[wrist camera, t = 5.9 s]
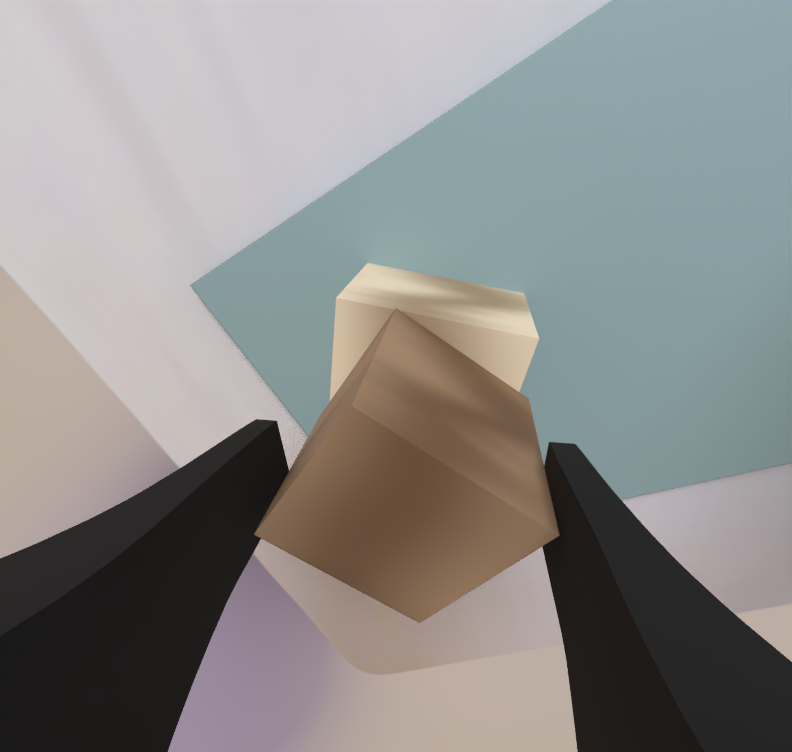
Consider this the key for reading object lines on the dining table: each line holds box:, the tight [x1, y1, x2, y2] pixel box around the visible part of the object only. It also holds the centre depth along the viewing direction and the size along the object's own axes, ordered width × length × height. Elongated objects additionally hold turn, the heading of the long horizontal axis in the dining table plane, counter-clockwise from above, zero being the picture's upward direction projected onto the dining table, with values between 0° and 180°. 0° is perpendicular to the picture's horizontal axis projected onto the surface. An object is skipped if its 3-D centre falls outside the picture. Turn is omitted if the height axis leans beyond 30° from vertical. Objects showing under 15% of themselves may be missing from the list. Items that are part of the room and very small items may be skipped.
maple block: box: [330, 263, 539, 401], centre depth 15 cm, size 6×6×4 cm
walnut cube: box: [254, 308, 560, 623], centre depth 11 cm, size 5×5×5 cm
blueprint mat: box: [190, 0, 792, 499], centre depth 16 cm, size 22×18×1 cm
